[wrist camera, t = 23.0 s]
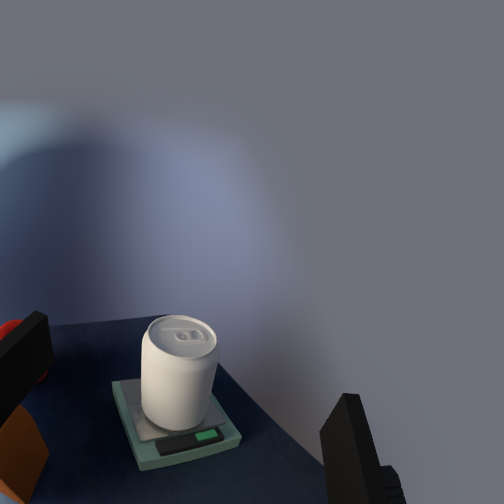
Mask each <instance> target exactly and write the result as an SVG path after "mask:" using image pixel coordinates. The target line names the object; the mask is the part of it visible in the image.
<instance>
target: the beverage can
mask: <svg viewBox="0 0 504 504" xmlns="http://www.w3.org/2000/svg"><path fill="white" fill-rule="evenodd" d="M219 355H220V348H219V344H218V342H217V336H216V334H215V332H214V331H213V329H212V328H211V327H210V326H208V325H207V324H206V323H204V322H202V321H200V320H198V319H195V318H192V317H188V316H183V315H168V316H163V317H160V318H158V319H156V320H154V321H153V322H152V323H151V324H150V325H149V327H148V330H147V331H146V333H145V334H144V337H143V340H142V363H141V404H142V409H143V411H144V413H145V415H146V416H147V417H148V418H149V419H150V420H151V421H152V422H153V423H155V424H156V425H158V426H160V427H162V428H165V429H169V430H187V429H190V428H193V427H195V426H197V425H198V424H199V423H201V422H202V420H203V419H204V417H205V415H206V412H207V407H208V403H209V398H210V394H211V390H212V385H213V381H214V377H215V372H216V368H217V364H218V359H219Z"/></svg>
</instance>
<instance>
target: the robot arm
mask: <svg viewBox="0 0 504 504" xmlns="http://www.w3.org/2000/svg"><path fill="white" fill-rule="evenodd" d="M54 362H55V357H54V353H53V347H52V342H51V336H50V330H49V324H48V318H47V315H45V314H43V313H40V312H38V311H36V310H35V311H34V312H33V313H32V314H30V315H29V316H28V317H27V318H26V319H24V320H23V321H22V322H21V323H20V324H18V325H17V326H16V327H15V328H14V329H13V330H11V331H10V332H9V333H8V334H7V335H6V336H5V337H3V338H2V339H1V340H0V428H1V427H2V426H3V424H4V423H5V422H6V421H7V419H8V418H9V417H10V415H11V414H12V413H13V412H14V410H15V409H16V408H17V406H18V405H19V404H20V403H21V401H22V400H23V399H24V398H25V396H26V395H27V394H28V393H29V392H30V390H31V389H32V388H33V387H34V386H35V384H36V383H37V382H38V381H39V380H40V378H41V377H42V376H43V375H44V374H45V372H46V371H47V370H48V369H49V368H50V367H51V365H52V364H53V363H54ZM320 439H321V447H322V454H323V462H324V470H325V478H326V486H327V495H328V503H329V504H406V501H405V497H404V496H403V495H404V493H403V490H402V488H401V483H400V480H399V476H398V474H397V473H396V471H395V470H394V469H393V468H392V466H391V465H389V466H380V464H379V460H378V457H377V453H376V449H375V446H374V442H373V439H372V435H371V432H370V428H369V425H368V422H367V418H366V415H365V412H364V409H363V405H362V403H361V399H360V396H359V394H348V393H343V394H342V396H341V397H340V399H339V401H338V403H337V404H336V406H335V408H334V409H333V411H332V412H331V414H330V416H329V417H328V419H327V420H326V422H325V424H324V425H323V427H322V428H321V430H320Z"/></svg>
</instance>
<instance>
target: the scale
mask: <svg viewBox="0 0 504 504" xmlns="http://www.w3.org/2000/svg"><path fill="white" fill-rule="evenodd" d="M112 389H113V395H114V399H115V402H116V405H117V408H118V412H119V415H120V418H121V421H122V424H123V427H124V429H125V432H126V435H127V438H128V441H129V443H130V446H131V449H132V451H133V454H134V456H135V459H136V461H137V464H138V466H139V468H140V471H145V470H151V469H156V468H161V467H165V466H170V465H174V464H179V463H183V462H187V461H191V460H194V459H198V458H202V457H205V456H209V455H212V454H216V453H219V452H222V451H225V450H229V449H232V448H235V447H238V445H239V443H240V440H241V438H242V436H241V435H240V433H239V432H238V430H237V429H236V427H235V426H234V425H233V423H232V422H231V420H230V419H229V417H228V416H227V415H226V413H225V412H224V410H223V409H222V407H221V406H220V404H219V403H218V401H217V400H216V398H215V397H214V395H213V393H212V392H211V394H210V398H211V400H212V401H213V403H214V404H215V406H216V408H217V409H218V411H219V412H220V414H221V415H222V417H223V418H224V420H225V421H226V424H225V425H221V426H217V427H214V428H210V429H206V430H202V431H198V432H194V433H190V434H185V435H181V436H176V437H172V438H167V439H162V440H156V441H151V442H146V443H141V442H140V440H139V437H138V435H137V432H136V429H135V427H134V424H133V421H132V419H131V416H130V413H129V410H128V408H127V405H126V402H125V399H124V396H123V393H122V389H121V386H120V382H119V381H114V382H112Z"/></svg>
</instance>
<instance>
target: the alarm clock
mask: <svg viewBox="0 0 504 504" xmlns="http://www.w3.org/2000/svg"><path fill="white" fill-rule="evenodd" d="M48 457H49V450H48V448H47V446H46V444H45V442H44V440H43V438H42V436H41V434H40V432H39V430H38V428H37V426H36V423H35V421H34V419H33V418H32V416H31V415H30V414H29V412H28V411H27V410H26V409H25V408H24V407H22V406H21V405H20V404H19V405H18V406H17V408H16V409H15V410H14V412H13V413H12V414H11V415H10V417H9V418H8V419H7V421H6V422H5V423H4V424H3V426H2V427H1V428H0V492H2V493H3V494H5V495H6V496H8V497H10V498H11V499H13V500H14V501H16V502H18V503H20V504H28V503H29V501H30V498H31V496H32V493H33V491H34V488H35V486H36V484H37V481H38V479H39V477H40V474H41V472H42V470H43V468H44V465H45V463H46V461H47V459H48Z"/></svg>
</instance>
